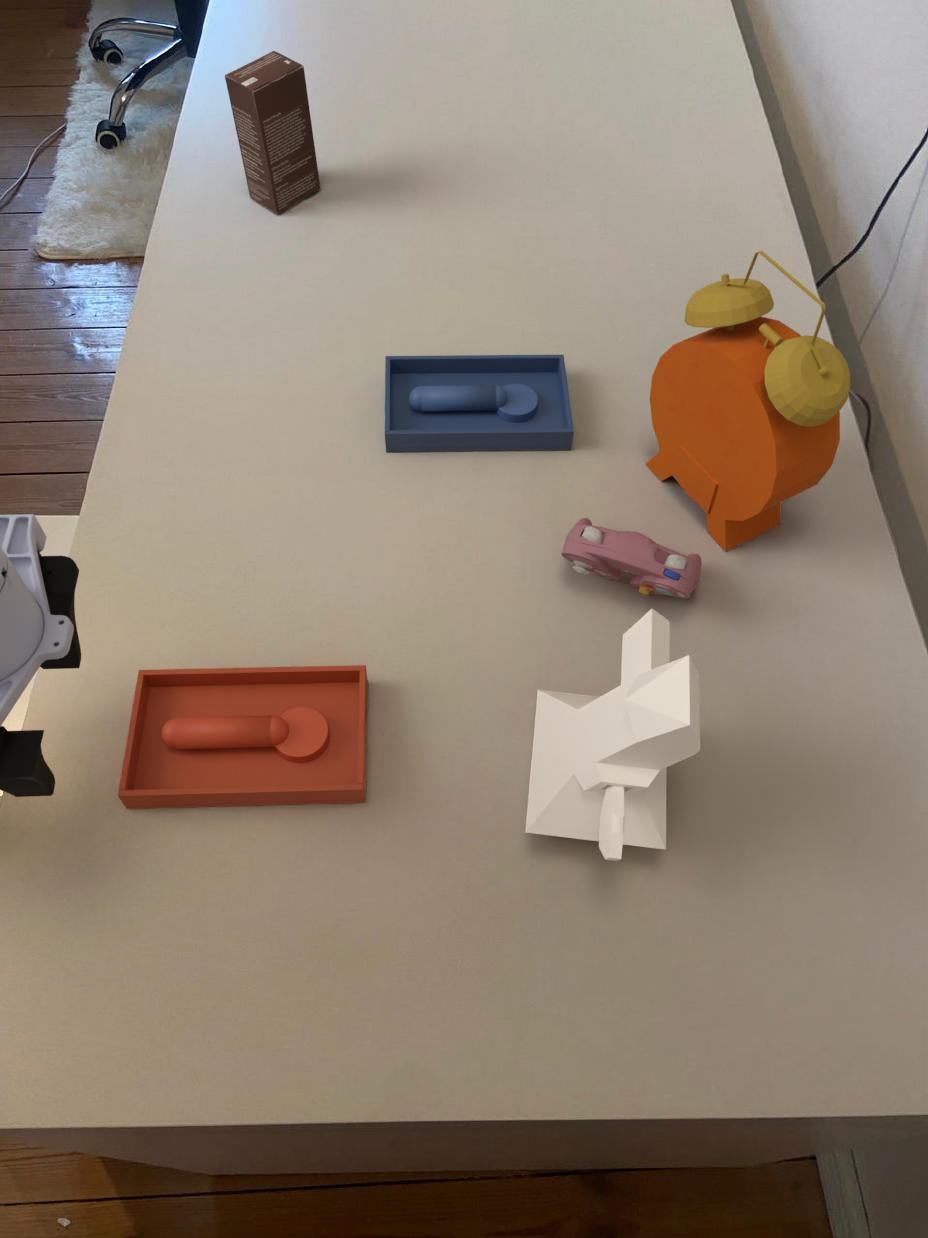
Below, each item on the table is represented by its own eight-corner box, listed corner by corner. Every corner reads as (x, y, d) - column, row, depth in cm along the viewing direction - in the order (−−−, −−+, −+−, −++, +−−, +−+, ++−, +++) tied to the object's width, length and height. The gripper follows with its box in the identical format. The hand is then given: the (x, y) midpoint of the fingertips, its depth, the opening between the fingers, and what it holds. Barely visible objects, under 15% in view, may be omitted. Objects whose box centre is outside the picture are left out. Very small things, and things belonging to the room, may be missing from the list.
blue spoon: (409, 423, 78) (408, 405, 76) (409, 392, 80) (408, 373, 78) (539, 422, 78) (541, 404, 76) (535, 390, 80) (537, 372, 78)
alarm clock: (800, 535, 73) (908, 324, 56) (737, 568, 71) (829, 359, 54) (691, 424, 79) (760, 203, 62) (631, 451, 77) (685, 231, 60)
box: (291, 172, 97) (274, 47, 87) (321, 191, 95) (308, 65, 85) (245, 197, 94) (221, 72, 84) (275, 217, 93) (255, 91, 83)
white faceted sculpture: (517, 890, 58) (537, 801, 46) (535, 686, 65) (556, 567, 54) (658, 907, 57) (714, 823, 46) (660, 701, 65) (708, 583, 53)
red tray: (126, 809, 60) (117, 796, 58) (146, 685, 65) (138, 669, 63) (365, 802, 60) (363, 789, 59) (367, 680, 65) (365, 664, 63)
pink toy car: (557, 576, 72) (551, 557, 65) (577, 519, 73) (574, 495, 66) (685, 619, 70) (693, 604, 64) (705, 560, 71) (715, 540, 64)
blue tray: (385, 452, 77) (384, 433, 75) (386, 374, 81) (385, 355, 80) (571, 450, 77) (574, 431, 75) (560, 373, 82) (563, 354, 80)
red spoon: (161, 766, 61) (154, 752, 59) (169, 715, 63) (161, 701, 61) (328, 762, 61) (325, 748, 60) (330, 712, 63) (327, 697, 62)
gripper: (-5, 731, 37) (101, 850, 49) (65, 452, 45) (142, 611, 57) (-191, 736, 37) (-41, 855, 48) (-88, 455, 45) (20, 614, 56)
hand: (49, 724), depth 53 cm, fingers open, 7 cm apart
